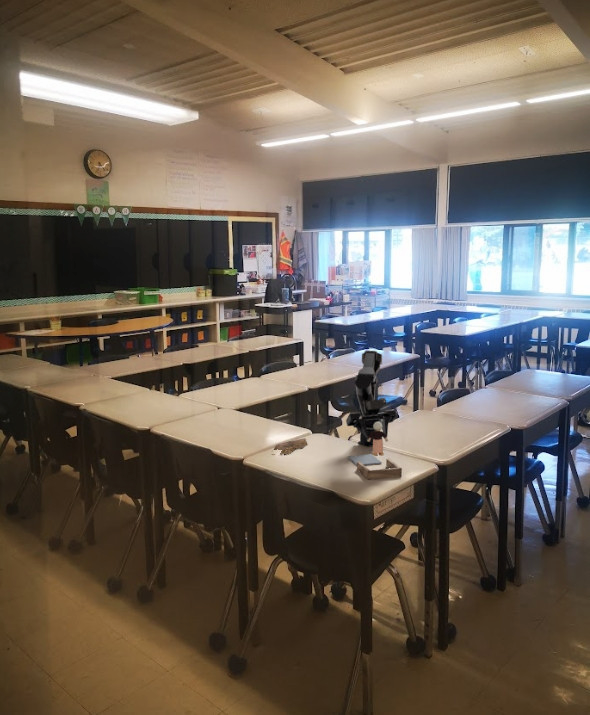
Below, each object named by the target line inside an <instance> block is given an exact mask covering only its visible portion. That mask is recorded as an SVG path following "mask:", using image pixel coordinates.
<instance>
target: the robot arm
mask: <svg viewBox="0 0 590 715" xmlns="http://www.w3.org/2000/svg"><path fill="white" fill-rule="evenodd" d="M361 364H362V368H361V369H359V370H358V373H357V374H356V376H355V379H354V385H355V390H356V393H355V394H356V397H357V400H358V403H359V408H358V409H359V411H360V412H349V413H348V416H347V418H346V420H345V422H346V423H345V424H346V426H347V427H353V428H354V429H357V431H359V432H360V433H359V438H360V440H359V441H357V444H359V445H363V446H366V447H371V446H372V447H373V439H374V438H372V439H371V440H370V442H368V441H367V440H368V439H369V435H370V434H371V433H372V432H376V430H375V429H374V427H373V425H374V423H375V422H381V423H382V428H381V431H382V432H384V433H385V435H386V437H387V438H388V431H389V424H390V423H393V422H394V421H395V419H396V418H397V416H398V413H397V410H395V409H385V410H384V412H382V413H380V412H381V409H384V407H386V406H387V404H388V403H387V399H386V397H379V398H378V399H376V385H377V383H378V378H377V374H378V372H379V371H380V370H381V365H383V355H382V353H379V352H377V351H376V350H365V351H364V352H362V353H361Z"/></svg>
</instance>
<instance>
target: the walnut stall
mask: <svg viewBox="0 0 590 715" xmlns="http://www.w3.org/2000/svg"><path fill="white" fill-rule="evenodd" d="M385 463H386V464H385V467H386V466H387V467H386V468H381V469H371V470H370V469H369V468H368V467H366V465H365V466H364V465H363V464H362V463H361V462H360V461H359V462H357V465H356V470H357V471H358V472H359V473H360V474H362V476H363V477H365V478H366V479H367V480H368V481H369V480H378V479H388V478H389V477H390V478H398V477H397V476H399V477H403V476H402V475H403V474H402V472H403V468H402V467H401V466H399V465H398V464H397V463H395V462H394V461H392V460H391V459H390V458H386V461H385ZM389 468H390V469H389Z"/></svg>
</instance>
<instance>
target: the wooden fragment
mask: <svg viewBox="0 0 590 715" xmlns="http://www.w3.org/2000/svg"><path fill="white" fill-rule="evenodd" d="M305 446H309V444H308V442H307V439H306V438H299V439H295V440H289V441H286V442H285V441H284V442H281V443H278V444H276V445H275V446H274V448H273V450H277V449H278V450H282V451H281V453H280V454H288V455H287V456H289V455H291V453H292V452H295V451H296V450H300V449H303V448H305Z"/></svg>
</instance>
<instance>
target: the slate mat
mask: <svg viewBox="0 0 590 715" xmlns="http://www.w3.org/2000/svg"><path fill="white" fill-rule="evenodd" d="M347 458H348V460H350V461H351V462H352V463H353V464H354V465H355V466H357V462H359V461H360V462H361V463H362V464H363V465H364V466H365V467H366V466H373V465H372V464H375V465H382V464H381V463H383V462H382V461H381V460H380V459H378V458H377V456H373V455H372V453H370V454H358V455H357V454H356V455H350V456H349V455H348V456H347Z"/></svg>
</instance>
